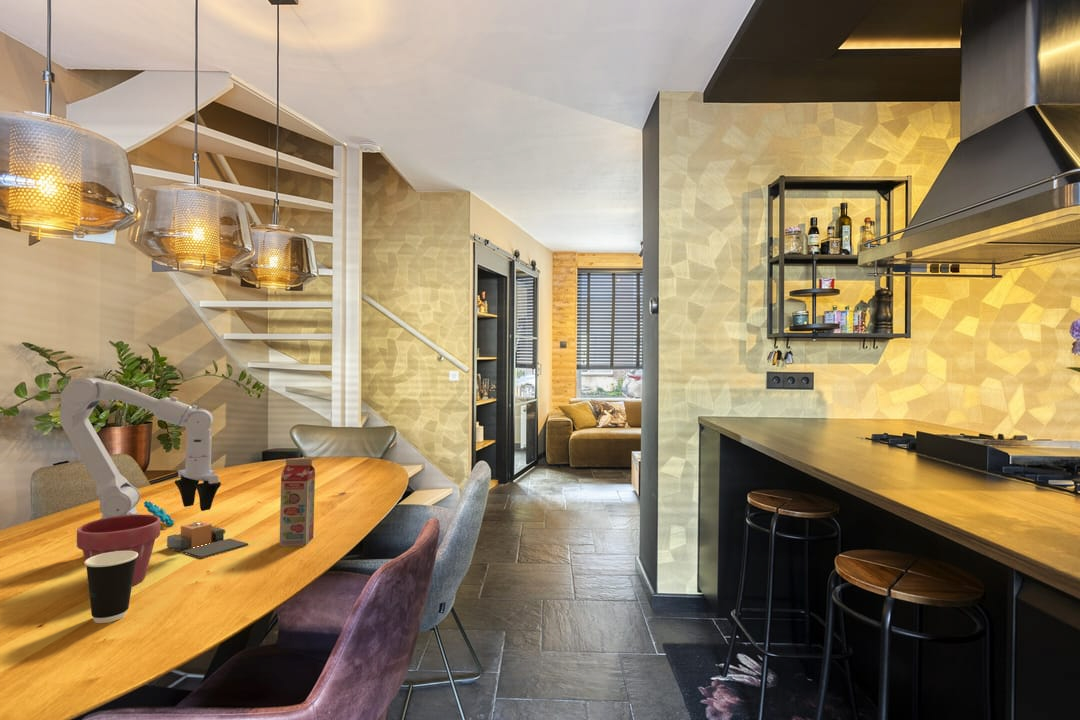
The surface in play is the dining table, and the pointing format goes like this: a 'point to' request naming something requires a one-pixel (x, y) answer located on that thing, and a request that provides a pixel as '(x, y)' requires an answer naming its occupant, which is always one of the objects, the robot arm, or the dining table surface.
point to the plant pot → (121, 538)
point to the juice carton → (297, 503)
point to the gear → (159, 513)
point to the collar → (197, 534)
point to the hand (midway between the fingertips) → (197, 508)
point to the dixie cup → (110, 584)
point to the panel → (215, 548)
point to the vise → (183, 542)
